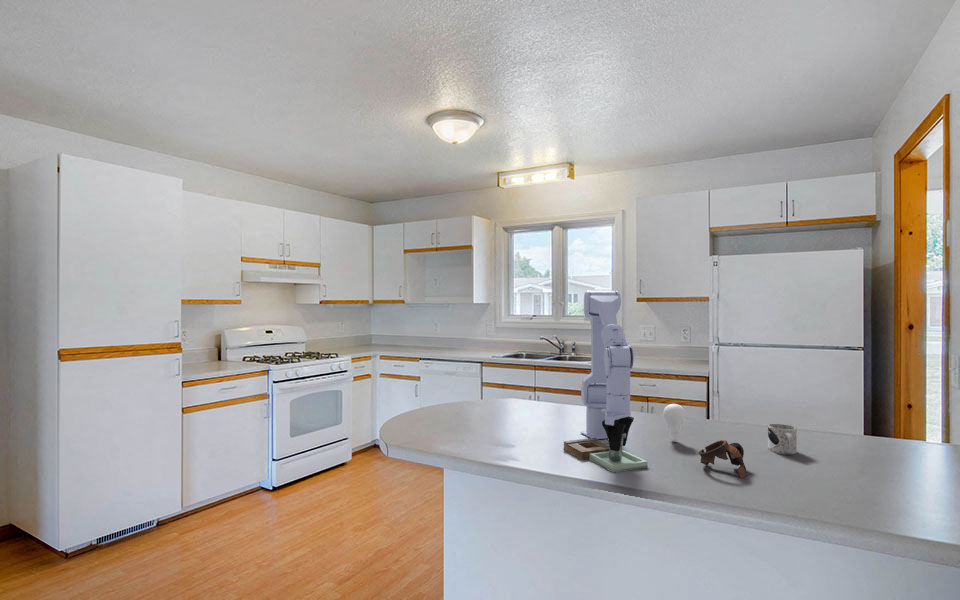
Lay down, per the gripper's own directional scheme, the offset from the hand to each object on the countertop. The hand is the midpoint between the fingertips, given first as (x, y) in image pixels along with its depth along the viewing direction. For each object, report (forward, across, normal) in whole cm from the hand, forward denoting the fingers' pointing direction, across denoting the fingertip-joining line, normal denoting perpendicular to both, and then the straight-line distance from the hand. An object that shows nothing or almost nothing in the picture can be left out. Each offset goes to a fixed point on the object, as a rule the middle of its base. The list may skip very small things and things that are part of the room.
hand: (618, 447), depth 122 cm
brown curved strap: (+4, -10, +23) cm, 26 cm away
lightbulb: (+4, -28, +8) cm, 29 cm away
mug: (+4, -34, +35) cm, 49 cm away
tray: (+4, 0, 0) cm, 4 cm away
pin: (+3, 0, -1) cm, 3 cm away
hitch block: (+4, -4, -9) cm, 11 cm away
